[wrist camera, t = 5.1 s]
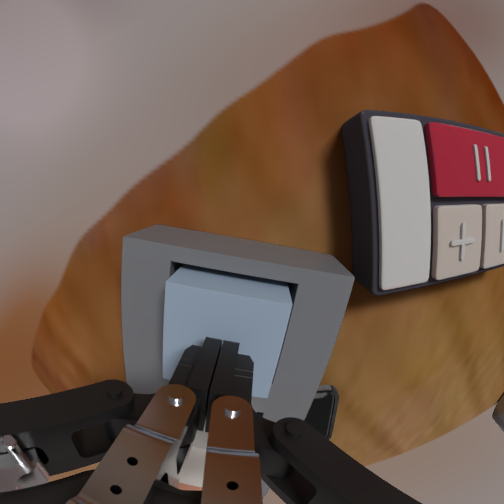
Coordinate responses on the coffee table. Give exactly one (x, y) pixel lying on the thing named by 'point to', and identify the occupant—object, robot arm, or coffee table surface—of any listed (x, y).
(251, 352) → the slate key
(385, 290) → the calculator
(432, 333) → the coffee table surface
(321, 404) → the phone
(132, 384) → the key panel
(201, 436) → the white key
